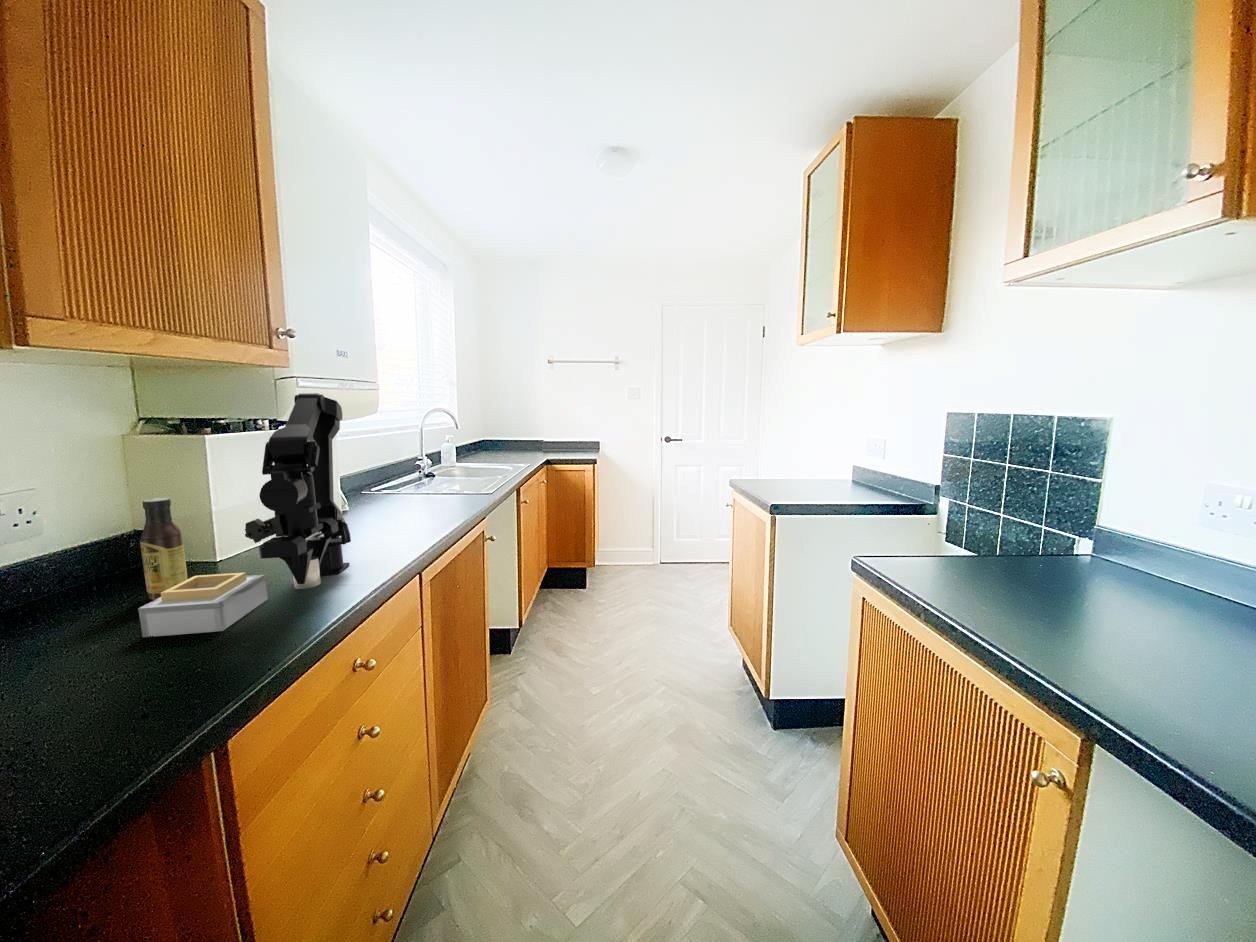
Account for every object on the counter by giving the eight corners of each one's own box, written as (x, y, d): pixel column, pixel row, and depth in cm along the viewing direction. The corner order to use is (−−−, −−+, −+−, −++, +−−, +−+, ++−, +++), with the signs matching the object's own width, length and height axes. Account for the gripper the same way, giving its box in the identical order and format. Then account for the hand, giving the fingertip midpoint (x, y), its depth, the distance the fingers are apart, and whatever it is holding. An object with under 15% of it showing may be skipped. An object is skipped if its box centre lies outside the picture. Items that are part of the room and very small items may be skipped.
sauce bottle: (142, 598, 102) (126, 500, 99) (181, 588, 107) (166, 495, 104) (157, 604, 99) (141, 503, 96) (196, 593, 104) (182, 497, 101)
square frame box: (199, 604, 98) (194, 571, 98) (267, 599, 100) (263, 567, 99) (142, 637, 85) (136, 599, 84) (222, 630, 87) (217, 594, 86)
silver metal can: (301, 581, 102) (298, 557, 101) (324, 580, 102) (322, 555, 102) (290, 589, 97) (286, 564, 97) (314, 588, 98) (312, 562, 97)
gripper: (277, 493, 106) (286, 567, 108) (220, 514, 87) (232, 601, 89) (335, 491, 107) (343, 563, 109) (291, 510, 89) (301, 596, 91)
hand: (307, 579), depth 100 cm, fingers closed on silver metal can, 4 cm apart
